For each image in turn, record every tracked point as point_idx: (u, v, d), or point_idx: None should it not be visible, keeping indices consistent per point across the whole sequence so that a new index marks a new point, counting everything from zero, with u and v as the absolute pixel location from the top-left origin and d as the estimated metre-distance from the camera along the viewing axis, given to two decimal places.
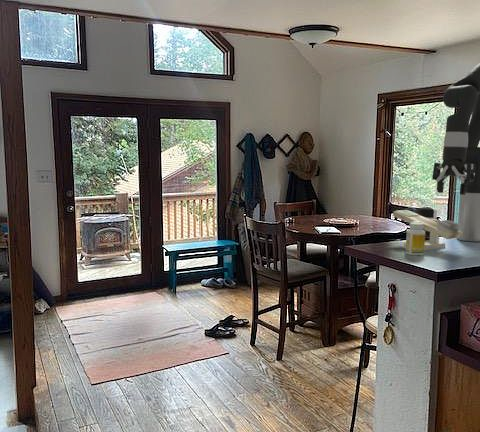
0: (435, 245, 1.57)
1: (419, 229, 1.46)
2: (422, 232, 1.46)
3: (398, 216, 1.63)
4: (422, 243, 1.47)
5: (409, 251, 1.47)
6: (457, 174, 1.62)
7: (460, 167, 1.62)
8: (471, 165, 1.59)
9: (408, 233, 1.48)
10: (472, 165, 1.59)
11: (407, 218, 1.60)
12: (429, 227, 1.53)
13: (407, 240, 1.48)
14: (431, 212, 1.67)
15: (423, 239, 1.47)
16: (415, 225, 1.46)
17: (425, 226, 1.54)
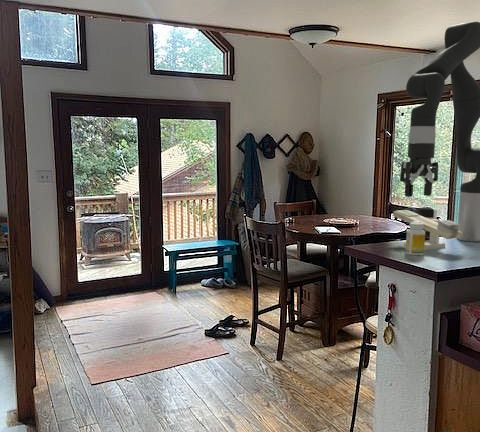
0: (435, 245, 1.57)
1: (419, 229, 1.46)
2: (422, 232, 1.46)
3: (398, 216, 1.63)
4: (422, 243, 1.47)
5: (409, 251, 1.47)
6: (430, 174, 1.46)
7: (430, 166, 1.47)
8: None
9: (408, 233, 1.48)
10: None
11: (407, 218, 1.60)
12: (429, 227, 1.53)
13: (407, 240, 1.48)
14: (431, 212, 1.67)
15: (423, 239, 1.47)
16: (415, 225, 1.46)
17: (425, 226, 1.54)
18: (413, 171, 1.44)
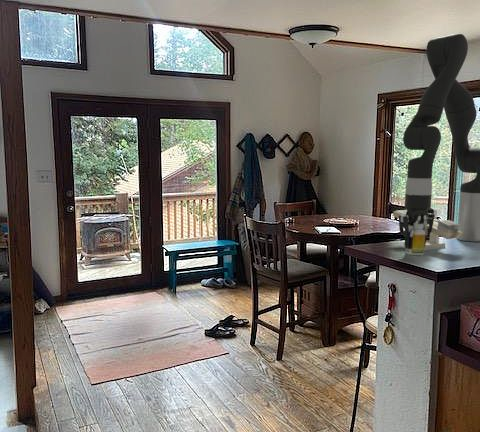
0: (435, 245, 1.57)
1: (419, 229, 1.46)
2: (422, 232, 1.46)
3: (398, 216, 1.63)
4: (422, 243, 1.47)
5: (409, 251, 1.47)
6: (425, 225, 1.48)
7: (426, 217, 1.49)
8: None
9: None
10: None
11: None
12: None
13: None
14: (431, 212, 1.67)
15: (423, 239, 1.47)
16: None
17: None
18: (411, 223, 1.47)
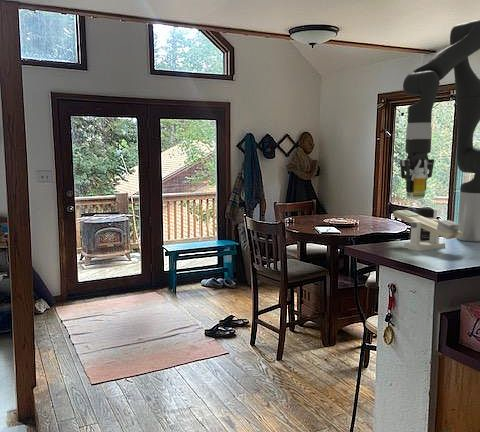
0: (435, 245, 1.57)
1: (420, 173, 1.51)
2: (423, 176, 1.51)
3: (398, 216, 1.63)
4: (423, 186, 1.51)
5: (411, 195, 1.52)
6: (426, 169, 1.52)
7: (426, 162, 1.53)
8: None
9: None
10: None
11: (407, 218, 1.60)
12: (429, 227, 1.53)
13: None
14: (431, 212, 1.67)
15: (424, 182, 1.51)
16: None
17: (425, 226, 1.54)
18: (412, 167, 1.51)
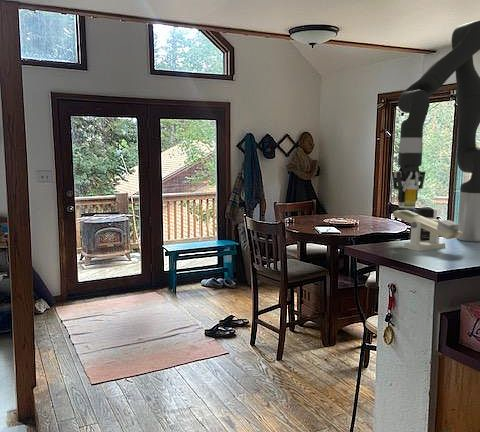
0: (435, 245, 1.57)
1: (411, 184, 1.62)
2: (414, 187, 1.61)
3: (398, 216, 1.63)
4: (414, 197, 1.62)
5: (402, 205, 1.63)
6: (417, 181, 1.63)
7: (418, 174, 1.64)
8: None
9: None
10: None
11: (407, 218, 1.60)
12: (429, 227, 1.53)
13: None
14: (431, 212, 1.67)
15: (414, 193, 1.62)
16: None
17: (425, 226, 1.54)
18: (403, 178, 1.62)
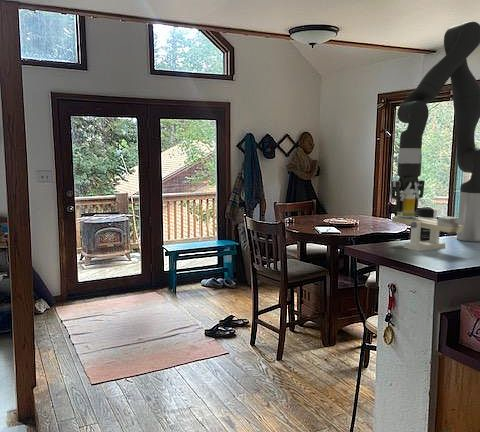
0: (435, 245, 1.57)
1: (410, 194, 1.62)
2: (412, 196, 1.62)
3: (397, 221, 1.63)
4: (412, 206, 1.62)
5: (401, 214, 1.63)
6: (417, 191, 1.63)
7: (417, 184, 1.64)
8: None
9: None
10: None
11: (406, 221, 1.60)
12: (429, 225, 1.53)
13: None
14: (431, 212, 1.67)
15: (413, 203, 1.62)
16: None
17: (425, 225, 1.54)
18: (402, 188, 1.62)
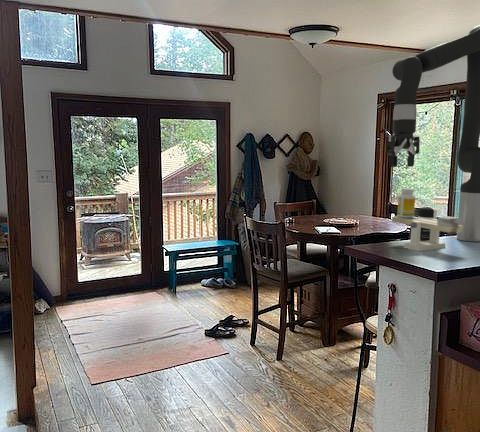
0: (435, 245, 1.57)
1: (410, 194, 1.62)
2: (412, 196, 1.62)
3: (397, 221, 1.63)
4: (412, 206, 1.62)
5: (401, 214, 1.63)
6: (412, 147, 1.66)
7: (412, 140, 1.66)
8: None
9: (400, 197, 1.63)
10: None
11: (406, 221, 1.60)
12: (429, 225, 1.53)
13: (399, 204, 1.64)
14: (431, 212, 1.67)
15: (413, 203, 1.62)
16: (406, 190, 1.62)
17: (425, 225, 1.54)
18: (397, 144, 1.64)
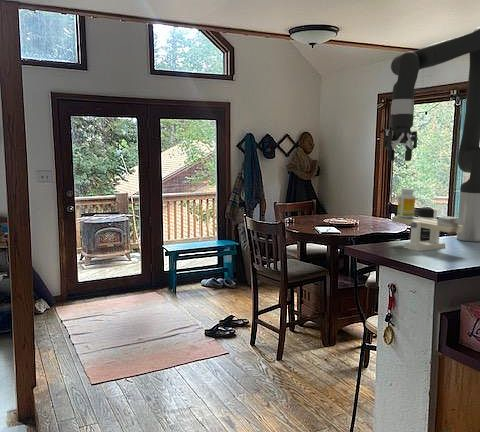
0: (435, 245, 1.57)
1: (410, 194, 1.62)
2: (412, 196, 1.62)
3: (397, 221, 1.63)
4: (412, 206, 1.62)
5: (401, 214, 1.63)
6: (410, 141, 1.67)
7: (409, 134, 1.68)
8: None
9: (400, 197, 1.63)
10: None
11: (406, 221, 1.60)
12: (429, 225, 1.53)
13: (399, 204, 1.64)
14: (431, 212, 1.67)
15: (413, 203, 1.62)
16: (406, 190, 1.62)
17: (425, 225, 1.54)
18: (395, 138, 1.66)
